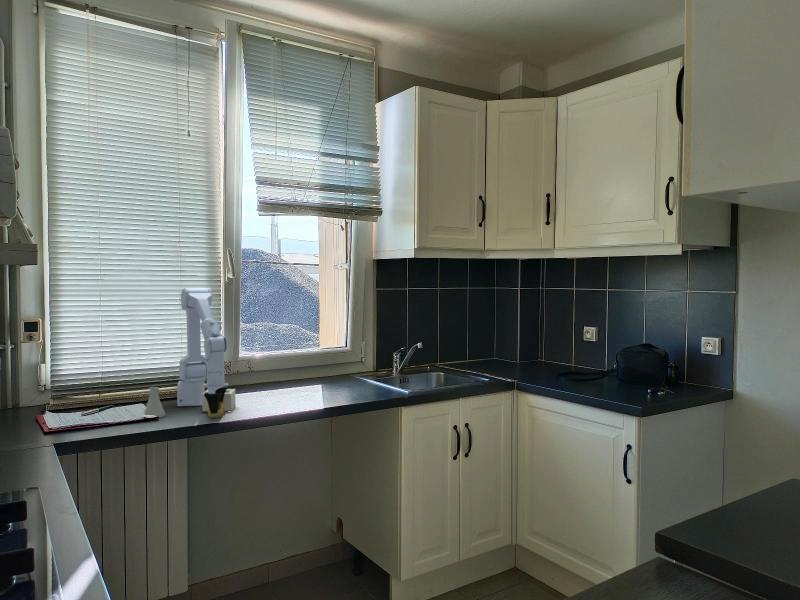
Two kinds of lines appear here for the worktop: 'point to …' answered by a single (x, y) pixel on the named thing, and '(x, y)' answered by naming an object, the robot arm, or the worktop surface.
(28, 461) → the worktop surface
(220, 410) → the block
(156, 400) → the flask
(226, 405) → the box
